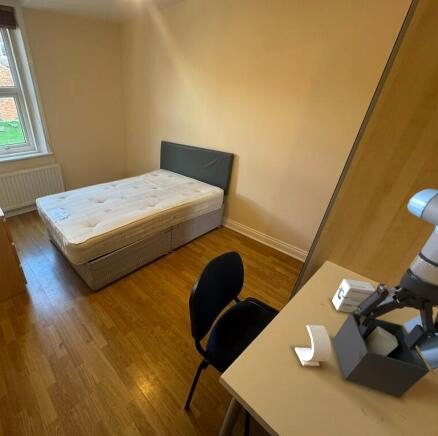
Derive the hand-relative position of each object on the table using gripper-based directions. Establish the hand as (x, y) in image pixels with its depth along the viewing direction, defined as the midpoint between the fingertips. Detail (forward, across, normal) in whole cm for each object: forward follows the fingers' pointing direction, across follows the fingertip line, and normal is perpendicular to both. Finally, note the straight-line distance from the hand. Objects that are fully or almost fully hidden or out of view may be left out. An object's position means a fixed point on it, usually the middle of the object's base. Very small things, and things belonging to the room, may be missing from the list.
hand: (384, 338), depth 62 cm
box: (+12, -1, 0) cm, 12 cm away
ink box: (+14, +2, +23) cm, 27 cm away
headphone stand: (+13, -15, -4) cm, 20 cm away
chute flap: (-4, +7, 0) cm, 8 cm away
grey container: (+13, 0, 0) cm, 13 cm away
